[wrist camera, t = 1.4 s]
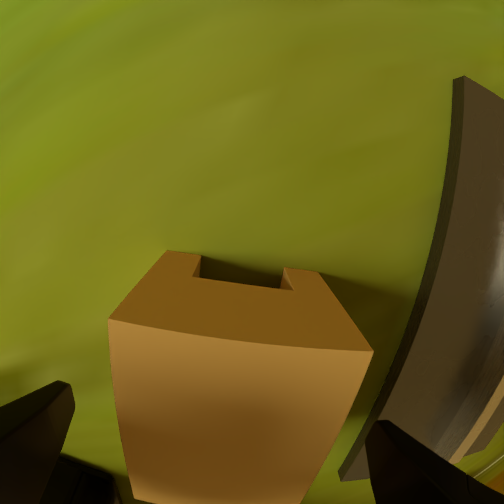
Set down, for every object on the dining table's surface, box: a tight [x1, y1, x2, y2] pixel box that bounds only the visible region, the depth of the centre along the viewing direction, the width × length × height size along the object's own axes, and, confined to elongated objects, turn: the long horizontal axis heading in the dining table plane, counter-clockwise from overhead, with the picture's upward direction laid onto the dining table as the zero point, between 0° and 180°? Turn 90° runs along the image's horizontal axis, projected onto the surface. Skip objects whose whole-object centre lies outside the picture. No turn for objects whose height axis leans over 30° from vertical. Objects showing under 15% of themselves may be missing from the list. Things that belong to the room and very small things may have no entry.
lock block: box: [108, 250, 374, 504], centre depth 9 cm, size 7×5×5 cm
